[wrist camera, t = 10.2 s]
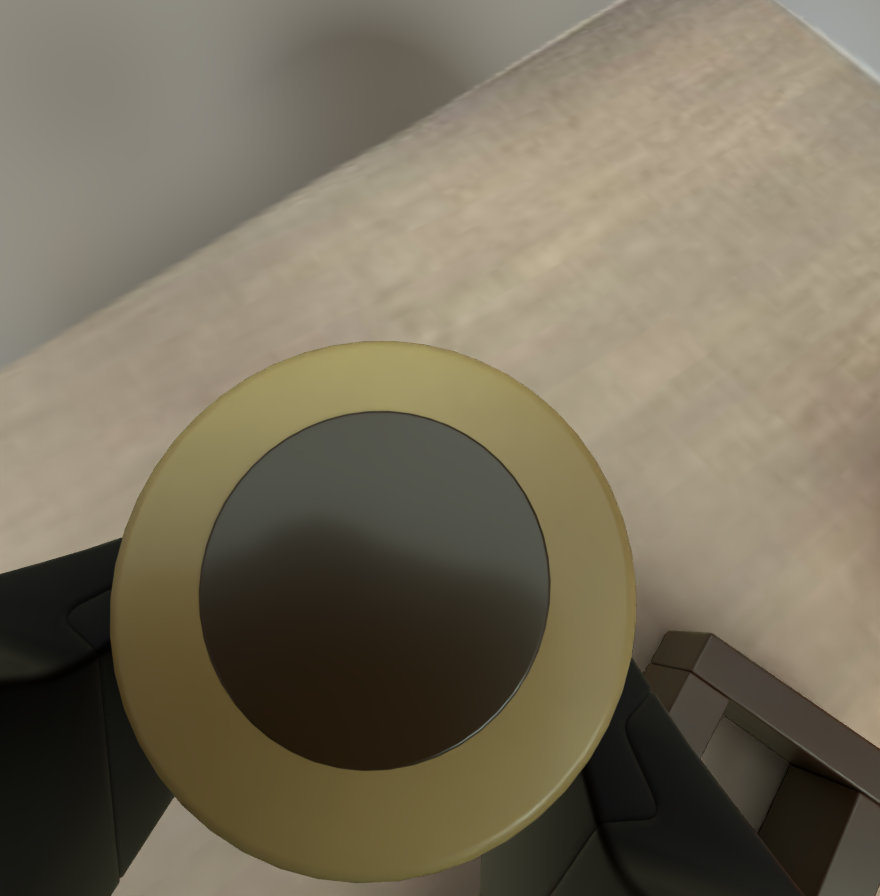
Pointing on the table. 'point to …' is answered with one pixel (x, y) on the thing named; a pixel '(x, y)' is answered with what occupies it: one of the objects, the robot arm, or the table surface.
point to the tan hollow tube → (373, 612)
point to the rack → (797, 740)
